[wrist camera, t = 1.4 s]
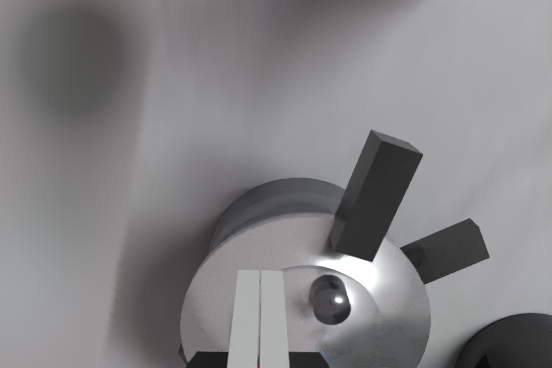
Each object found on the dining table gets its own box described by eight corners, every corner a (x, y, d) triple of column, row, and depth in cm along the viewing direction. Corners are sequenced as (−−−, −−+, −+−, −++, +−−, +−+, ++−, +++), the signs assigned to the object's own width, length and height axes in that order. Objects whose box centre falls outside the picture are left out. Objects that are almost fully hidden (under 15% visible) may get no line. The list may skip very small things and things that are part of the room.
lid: (359, 456, 40) (368, 500, 37) (149, 405, 38) (136, 447, 34) (512, 177, 32) (545, 197, 28) (253, 87, 29) (250, 96, 25)
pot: (242, 365, 49) (237, 444, 40) (156, 230, 44) (126, 286, 34) (468, 272, 46) (520, 335, 37) (407, 113, 40) (449, 139, 31)
